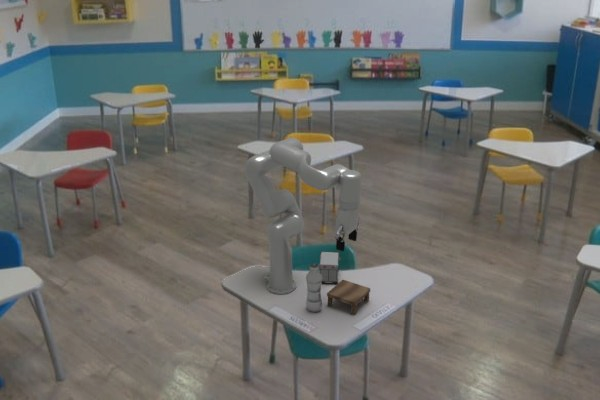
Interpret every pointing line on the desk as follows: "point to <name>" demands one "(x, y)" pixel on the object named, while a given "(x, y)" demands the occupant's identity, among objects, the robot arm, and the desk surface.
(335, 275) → the toy vehicle
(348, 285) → the walnut stand
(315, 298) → the plastic bottle
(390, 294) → the desk surface
